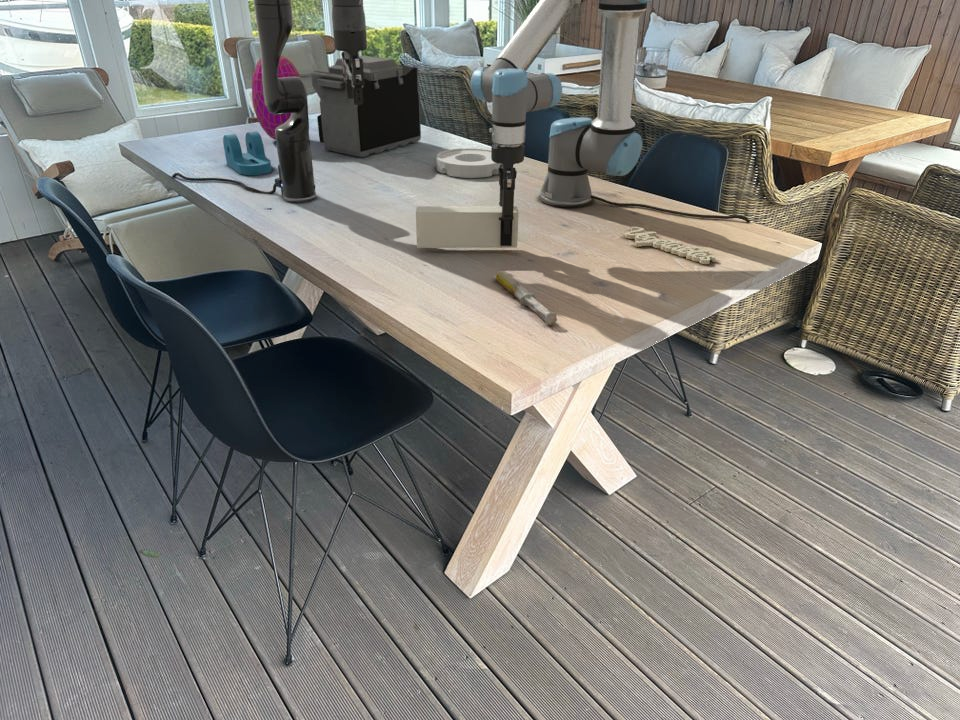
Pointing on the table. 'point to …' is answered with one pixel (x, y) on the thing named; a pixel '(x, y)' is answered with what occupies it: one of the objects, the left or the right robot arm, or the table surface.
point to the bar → (462, 227)
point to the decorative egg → (262, 113)
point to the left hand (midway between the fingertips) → (355, 101)
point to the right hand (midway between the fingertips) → (505, 241)
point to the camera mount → (246, 154)
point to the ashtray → (467, 163)
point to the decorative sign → (669, 245)
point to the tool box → (369, 108)
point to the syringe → (525, 297)
